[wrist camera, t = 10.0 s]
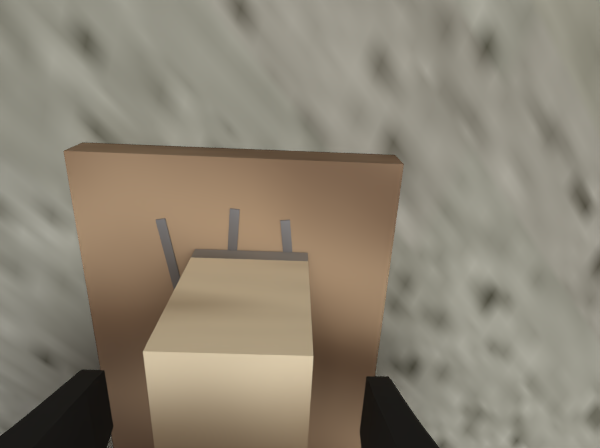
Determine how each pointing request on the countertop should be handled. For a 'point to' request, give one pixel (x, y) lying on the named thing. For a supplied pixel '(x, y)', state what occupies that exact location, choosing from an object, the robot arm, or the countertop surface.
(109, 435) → the robot arm
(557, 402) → the countertop surface
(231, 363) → the block
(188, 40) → the countertop surface
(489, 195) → the countertop surface
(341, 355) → the board
